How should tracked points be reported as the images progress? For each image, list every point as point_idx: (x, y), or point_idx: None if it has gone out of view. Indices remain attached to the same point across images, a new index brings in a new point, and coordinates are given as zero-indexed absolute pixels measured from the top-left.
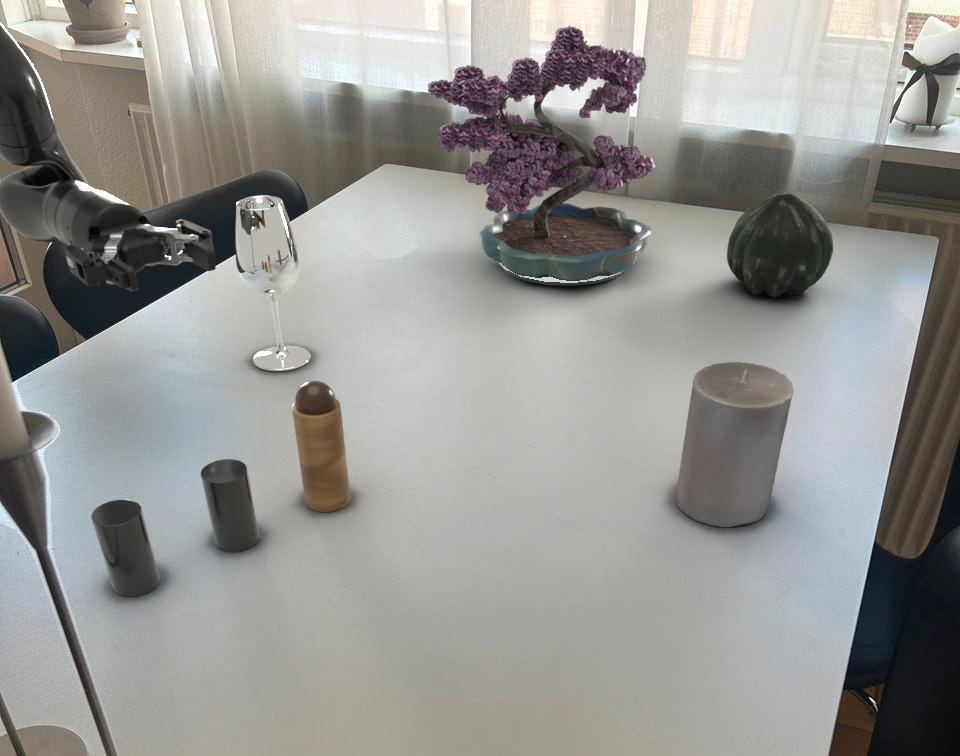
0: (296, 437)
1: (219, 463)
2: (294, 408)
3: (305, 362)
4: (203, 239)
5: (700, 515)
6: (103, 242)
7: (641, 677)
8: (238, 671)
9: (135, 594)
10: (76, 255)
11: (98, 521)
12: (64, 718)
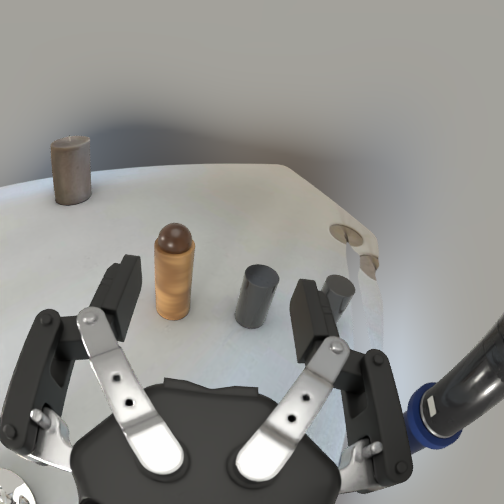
0: (191, 270)
1: (260, 283)
2: (189, 251)
3: (2, 468)
4: (69, 320)
5: (90, 192)
6: (308, 471)
7: (186, 185)
8: (297, 253)
9: None
10: (394, 402)
11: (351, 284)
12: (363, 276)
